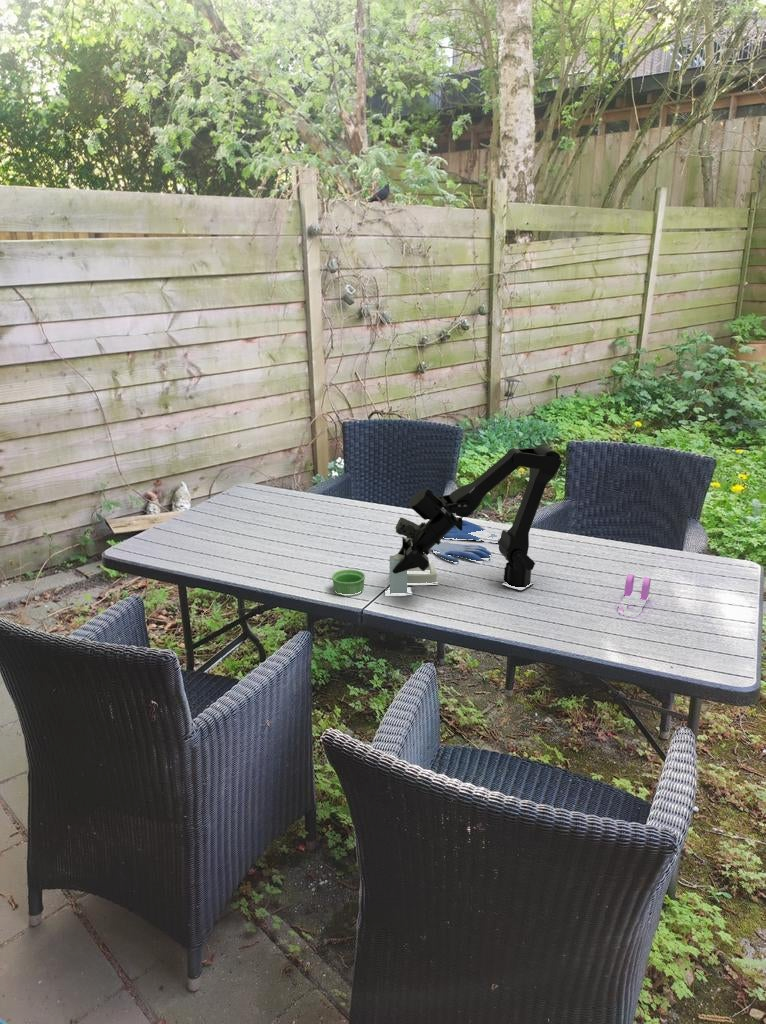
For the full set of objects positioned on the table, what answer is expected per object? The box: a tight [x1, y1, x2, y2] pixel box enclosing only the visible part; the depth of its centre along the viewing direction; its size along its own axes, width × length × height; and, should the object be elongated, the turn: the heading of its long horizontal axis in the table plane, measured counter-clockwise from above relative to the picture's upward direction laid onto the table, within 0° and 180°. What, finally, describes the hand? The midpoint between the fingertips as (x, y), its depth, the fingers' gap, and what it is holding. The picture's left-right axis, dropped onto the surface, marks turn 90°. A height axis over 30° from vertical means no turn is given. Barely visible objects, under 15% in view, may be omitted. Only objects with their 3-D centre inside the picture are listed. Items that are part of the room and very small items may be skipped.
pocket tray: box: [407, 561, 438, 583], centre depth 200 cm, size 13×10×4 cm
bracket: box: [619, 573, 652, 612], centre depth 183 cm, size 13×6×7 cm, turn 150°
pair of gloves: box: [429, 519, 500, 563], centre depth 225 cm, size 32×26×4 cm
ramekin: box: [331, 569, 366, 594], centre depth 193 cm, size 9×9×4 cm
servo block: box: [383, 553, 407, 594], centre depth 190 cm, size 8×4×11 cm, turn 92°
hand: (393, 568), depth 190 cm, fingers closed on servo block, 4 cm apart
